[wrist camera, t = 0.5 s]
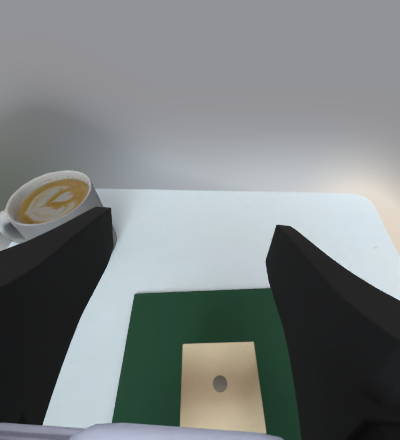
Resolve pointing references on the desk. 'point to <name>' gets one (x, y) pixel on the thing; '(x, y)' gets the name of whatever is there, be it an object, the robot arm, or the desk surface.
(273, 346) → the dice mat
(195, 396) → the die
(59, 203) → the coffee mug
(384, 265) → the desk surface
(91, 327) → the desk surface
